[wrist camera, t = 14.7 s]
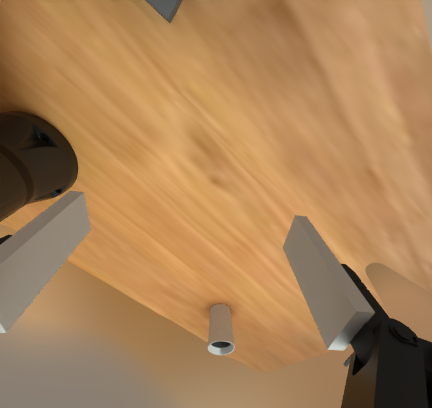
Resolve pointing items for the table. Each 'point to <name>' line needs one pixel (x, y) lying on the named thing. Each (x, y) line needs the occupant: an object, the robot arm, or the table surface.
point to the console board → (166, 7)
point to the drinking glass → (220, 330)
